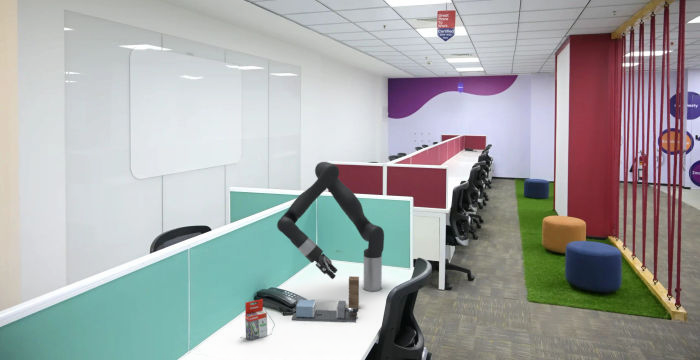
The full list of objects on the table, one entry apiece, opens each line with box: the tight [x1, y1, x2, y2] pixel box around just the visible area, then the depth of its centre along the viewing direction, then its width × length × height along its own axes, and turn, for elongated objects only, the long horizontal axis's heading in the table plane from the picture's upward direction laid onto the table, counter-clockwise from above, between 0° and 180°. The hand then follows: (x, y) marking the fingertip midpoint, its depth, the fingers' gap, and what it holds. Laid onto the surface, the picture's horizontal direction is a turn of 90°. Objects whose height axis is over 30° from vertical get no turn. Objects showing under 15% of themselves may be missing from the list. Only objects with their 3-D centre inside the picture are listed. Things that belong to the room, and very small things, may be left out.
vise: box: [291, 300, 359, 323], centre depth 221 cm, size 10×29×6 cm, turn 86°
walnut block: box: [348, 275, 360, 309], centre depth 231 cm, size 4×4×14 cm
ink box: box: [244, 298, 268, 341], centre depth 200 cm, size 4×8×15 cm, turn 124°
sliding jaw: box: [295, 299, 317, 317], centre depth 221 cm, size 8×8×5 cm
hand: (335, 274), depth 231 cm, fingers open, 8 cm apart
